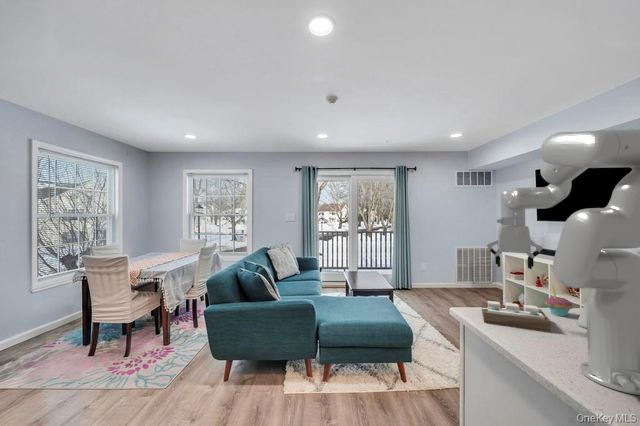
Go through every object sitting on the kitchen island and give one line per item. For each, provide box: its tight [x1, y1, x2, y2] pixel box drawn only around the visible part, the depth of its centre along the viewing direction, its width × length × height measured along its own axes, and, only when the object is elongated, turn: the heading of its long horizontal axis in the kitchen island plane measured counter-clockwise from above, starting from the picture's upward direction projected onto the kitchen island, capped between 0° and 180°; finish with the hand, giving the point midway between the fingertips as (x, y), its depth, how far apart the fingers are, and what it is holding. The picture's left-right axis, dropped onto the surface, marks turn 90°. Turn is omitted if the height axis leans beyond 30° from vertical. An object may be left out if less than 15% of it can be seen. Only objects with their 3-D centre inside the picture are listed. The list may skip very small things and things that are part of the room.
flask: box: [576, 298, 587, 329], centre depth 99 cm, size 7×7×10 cm
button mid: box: [504, 302, 520, 311], centre depth 106 cm, size 4×4×3 cm
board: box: [481, 302, 552, 333], centre depth 105 cm, size 14×20×5 cm
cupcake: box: [545, 285, 574, 317], centre depth 112 cm, size 9×8×12 cm
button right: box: [523, 304, 539, 313], centre depth 103 cm, size 4×4×3 cm
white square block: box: [487, 300, 501, 308], centre depth 109 cm, size 4×4×3 cm
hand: (513, 267), depth 103 cm, fingers open, 9 cm apart
